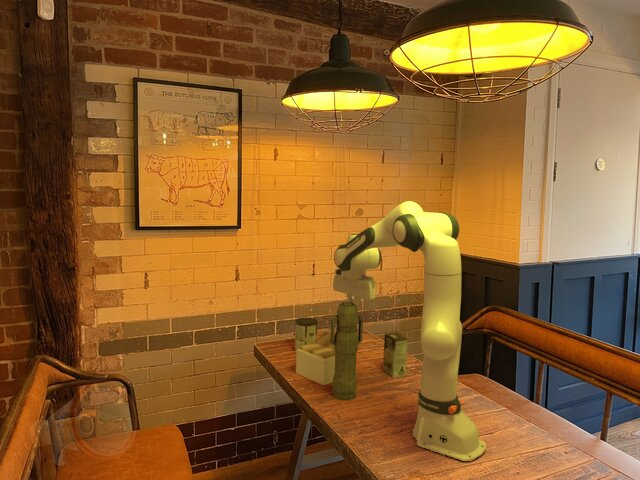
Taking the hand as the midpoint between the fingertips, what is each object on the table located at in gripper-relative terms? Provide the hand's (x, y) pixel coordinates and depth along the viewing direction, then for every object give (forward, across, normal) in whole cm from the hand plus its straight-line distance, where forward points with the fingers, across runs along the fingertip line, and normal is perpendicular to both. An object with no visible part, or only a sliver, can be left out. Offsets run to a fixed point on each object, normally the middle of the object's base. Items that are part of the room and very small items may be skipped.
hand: (352, 305), depth 201 cm
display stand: (+29, +5, +8) cm, 30 cm away
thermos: (+28, -14, +18) cm, 36 cm away
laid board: (+19, +6, +12) cm, 23 cm away
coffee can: (+29, +30, -5) cm, 42 cm away
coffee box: (+28, -14, -14) cm, 34 cm away
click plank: (+17, +6, +4) cm, 18 cm away
